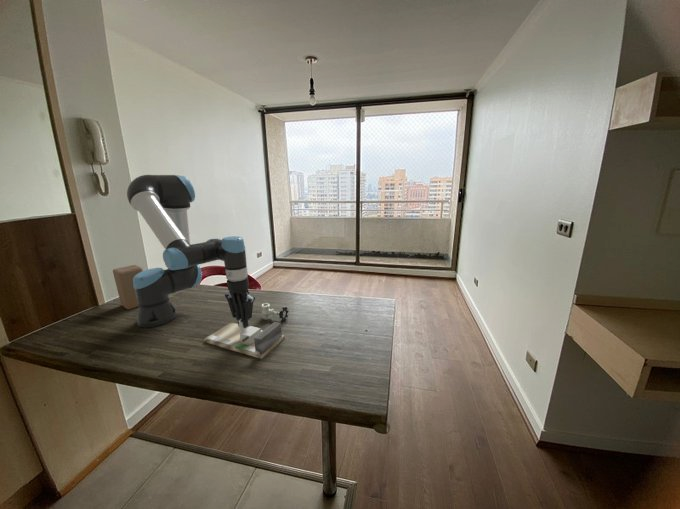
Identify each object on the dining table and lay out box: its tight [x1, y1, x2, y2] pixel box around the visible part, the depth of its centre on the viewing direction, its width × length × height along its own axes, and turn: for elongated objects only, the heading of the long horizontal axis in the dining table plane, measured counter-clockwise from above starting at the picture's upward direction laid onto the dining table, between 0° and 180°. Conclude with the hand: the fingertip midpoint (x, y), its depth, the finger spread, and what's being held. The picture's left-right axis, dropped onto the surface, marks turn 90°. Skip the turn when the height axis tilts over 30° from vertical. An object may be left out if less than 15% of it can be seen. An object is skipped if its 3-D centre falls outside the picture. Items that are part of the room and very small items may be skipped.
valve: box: [261, 302, 290, 322], centre depth 120 cm, size 7×7×12 cm
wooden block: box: [112, 264, 144, 310], centre depth 134 cm, size 10×10×20 cm
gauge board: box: [204, 321, 286, 360], centre depth 103 cm, size 28×14×7 cm, turn 67°
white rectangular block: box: [240, 325, 262, 344], centre depth 101 cm, size 5×9×4 cm, turn 157°
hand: (244, 334), depth 104 cm, fingers closed
